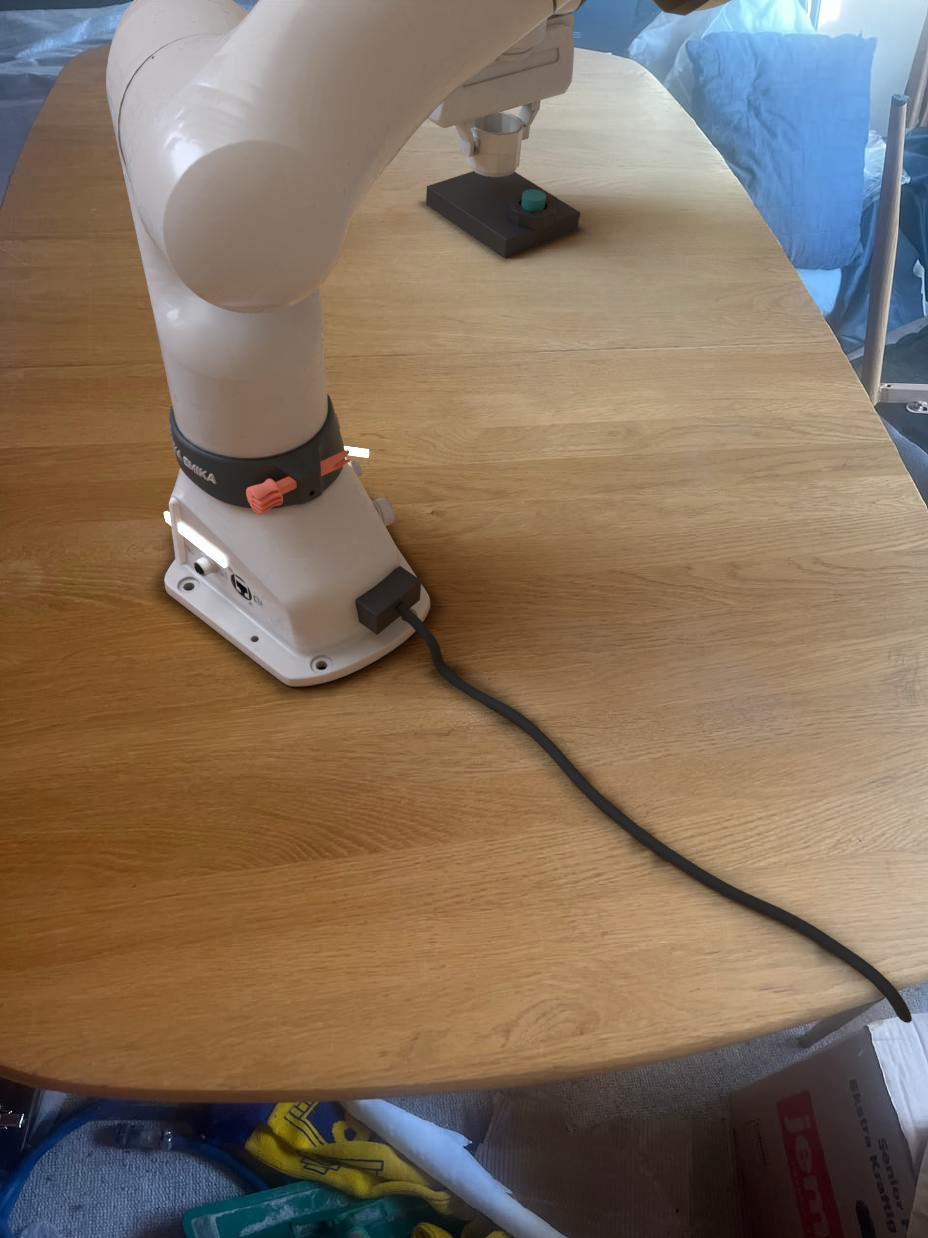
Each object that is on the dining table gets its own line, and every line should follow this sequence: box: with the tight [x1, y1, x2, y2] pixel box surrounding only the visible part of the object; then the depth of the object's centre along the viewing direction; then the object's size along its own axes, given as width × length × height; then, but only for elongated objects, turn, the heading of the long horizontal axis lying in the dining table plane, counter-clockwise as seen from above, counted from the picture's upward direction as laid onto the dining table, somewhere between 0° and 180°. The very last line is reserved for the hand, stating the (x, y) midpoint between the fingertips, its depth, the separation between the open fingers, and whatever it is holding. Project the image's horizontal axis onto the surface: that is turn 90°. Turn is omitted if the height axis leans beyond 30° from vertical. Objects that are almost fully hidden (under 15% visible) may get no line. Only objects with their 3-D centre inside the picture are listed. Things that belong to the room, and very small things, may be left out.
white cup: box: [465, 111, 524, 177], centre depth 114 cm, size 6×6×5 cm
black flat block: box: [425, 170, 581, 259], centre depth 117 cm, size 16×12×4 cm
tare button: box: [521, 189, 546, 212], centre depth 113 cm, size 3×3×2 cm
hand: (494, 146), depth 114 cm, fingers closed on white cup, 6 cm apart
